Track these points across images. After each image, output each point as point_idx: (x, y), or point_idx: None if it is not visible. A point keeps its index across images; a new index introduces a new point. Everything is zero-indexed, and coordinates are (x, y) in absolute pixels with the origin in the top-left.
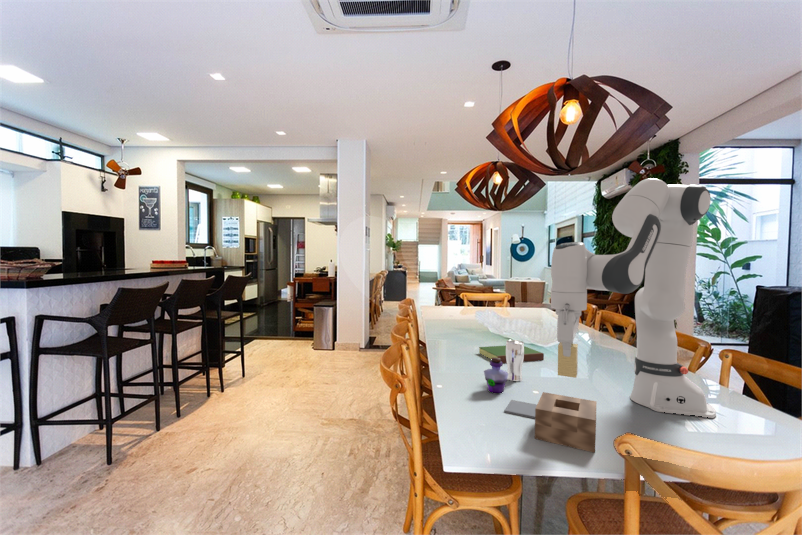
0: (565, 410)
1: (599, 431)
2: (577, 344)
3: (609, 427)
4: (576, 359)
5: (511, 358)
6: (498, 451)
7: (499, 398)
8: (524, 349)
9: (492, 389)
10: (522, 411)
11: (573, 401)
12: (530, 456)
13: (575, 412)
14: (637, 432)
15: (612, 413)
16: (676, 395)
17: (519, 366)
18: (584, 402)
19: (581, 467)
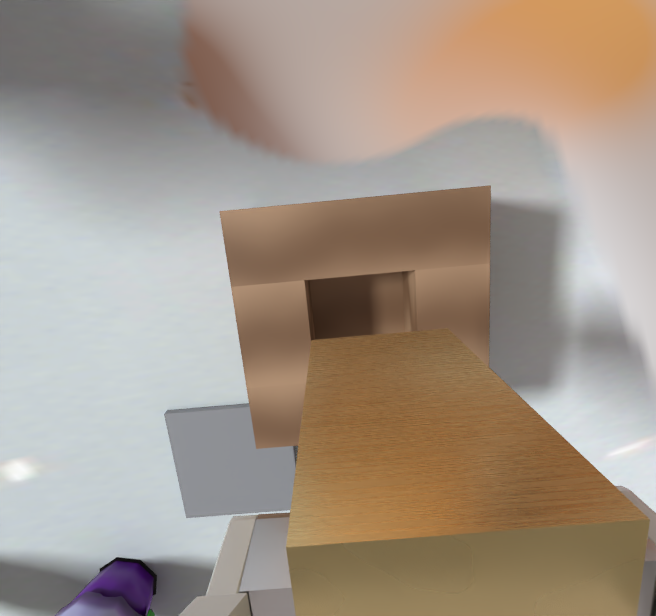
0: (441, 321)
1: (255, 199)
2: (337, 546)
3: (191, 169)
4: (519, 398)
5: None
6: (583, 437)
7: (188, 550)
8: None
9: (150, 597)
10: (270, 459)
11: (298, 309)
12: (569, 358)
13: (441, 279)
14: (167, 64)
15: (27, 170)
16: None
17: None
18: (277, 262)
19: (565, 219)
